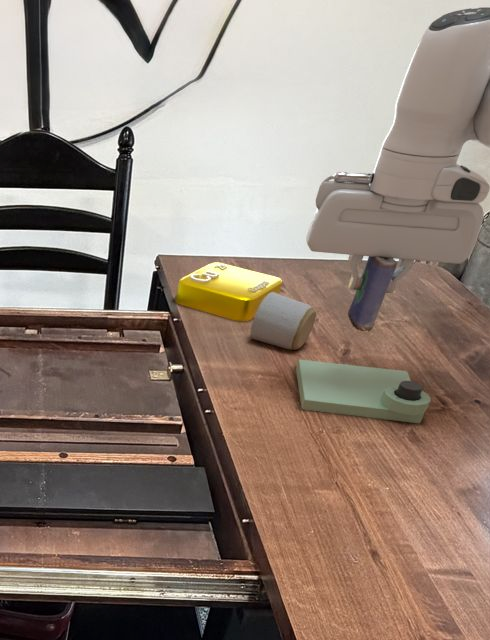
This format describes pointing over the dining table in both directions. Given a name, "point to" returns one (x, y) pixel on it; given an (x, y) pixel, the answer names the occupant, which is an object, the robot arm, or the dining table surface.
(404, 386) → the button
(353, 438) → the dining table surface
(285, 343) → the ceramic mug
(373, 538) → the dining table surface
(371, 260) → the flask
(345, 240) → the robot arm
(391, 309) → the dining table surface
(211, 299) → the element tile
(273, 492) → the dining table surface
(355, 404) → the green base with knob
